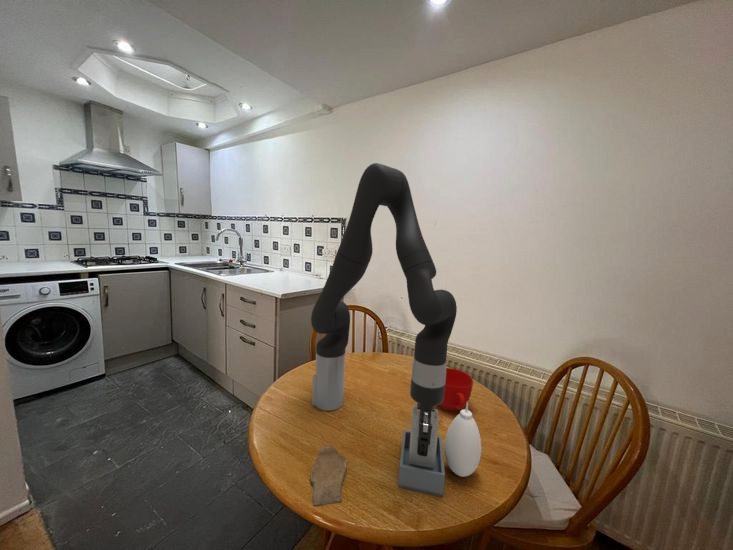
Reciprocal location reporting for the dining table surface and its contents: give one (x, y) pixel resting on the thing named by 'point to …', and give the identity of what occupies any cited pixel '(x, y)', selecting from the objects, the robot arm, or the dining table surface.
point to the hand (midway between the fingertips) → (422, 446)
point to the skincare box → (413, 456)
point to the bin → (421, 470)
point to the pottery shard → (328, 476)
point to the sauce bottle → (463, 444)
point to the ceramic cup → (456, 389)
